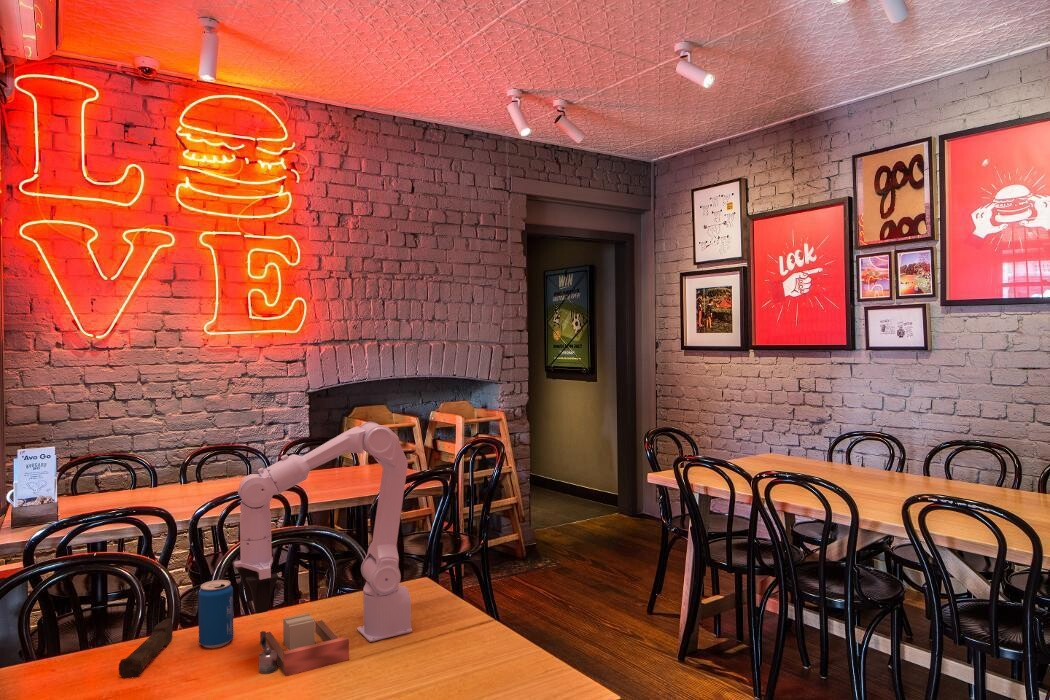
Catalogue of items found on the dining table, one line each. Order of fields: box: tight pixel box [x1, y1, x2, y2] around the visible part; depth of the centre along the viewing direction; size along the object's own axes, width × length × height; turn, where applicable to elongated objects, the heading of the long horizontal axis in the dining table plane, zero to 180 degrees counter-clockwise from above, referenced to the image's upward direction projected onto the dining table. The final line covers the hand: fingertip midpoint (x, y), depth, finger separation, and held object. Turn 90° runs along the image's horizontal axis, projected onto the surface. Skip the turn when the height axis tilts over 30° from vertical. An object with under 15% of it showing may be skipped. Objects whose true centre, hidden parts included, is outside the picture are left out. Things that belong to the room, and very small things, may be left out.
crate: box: [282, 613, 316, 650], centre depth 142 cm, size 5×5×5 cm
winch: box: [258, 630, 278, 675], centre depth 132 cm, size 3×6×6 cm, turn 33°
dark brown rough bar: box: [118, 617, 174, 679], centre depth 137 cm, size 19×4×5 cm, turn 3°
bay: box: [266, 619, 350, 677], centre depth 138 cm, size 12×17×4 cm
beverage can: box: [197, 579, 234, 649], centre depth 143 cm, size 6×6×12 cm
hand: (257, 605), depth 137 cm, fingers open, 7 cm apart
